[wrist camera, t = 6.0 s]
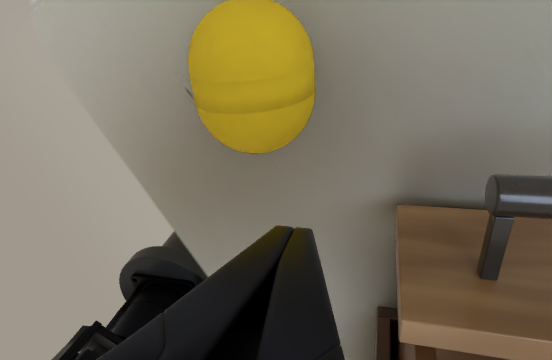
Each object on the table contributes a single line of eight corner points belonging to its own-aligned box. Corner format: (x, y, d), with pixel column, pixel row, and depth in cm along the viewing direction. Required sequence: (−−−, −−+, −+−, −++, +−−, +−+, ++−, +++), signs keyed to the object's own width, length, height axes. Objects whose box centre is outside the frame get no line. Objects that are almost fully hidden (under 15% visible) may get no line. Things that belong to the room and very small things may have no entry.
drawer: (403, 125, 16) (412, 219, 10) (728, 127, 13) (1014, 262, 7) (383, 365, 25) (381, 492, 19) (577, 399, 22) (649, 565, 16)
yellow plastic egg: (325, 127, 18) (306, 177, 14) (230, 126, 20) (186, 172, 15) (320, -14, 15) (294, -6, 11) (209, -3, 17) (146, 8, 12)
